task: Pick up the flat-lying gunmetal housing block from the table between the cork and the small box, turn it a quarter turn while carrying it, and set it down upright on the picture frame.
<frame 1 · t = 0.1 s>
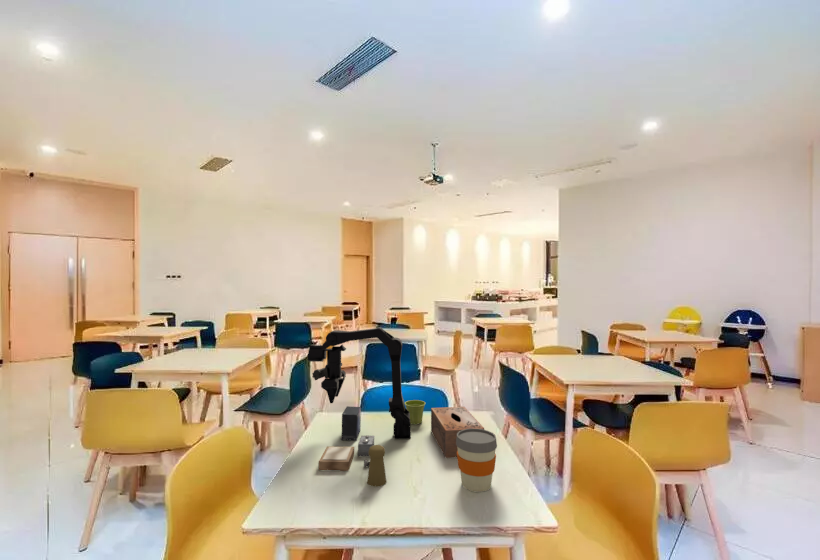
hand: (334, 399, 159), 15 cm above the table, tool pointing down, fingers open, 9 cm apart
small box: (351, 436, 159), on the table
picture frame: (337, 462, 135), on the table
plant pot: (415, 422, 175), on the table
housing: (366, 452, 144), on the table
tissue box cover: (455, 443, 152), on the table
reusable coffee cup: (476, 484, 120), on the table
loose bolt: (374, 465, 133), on the table
cork: (376, 482, 122), on the table
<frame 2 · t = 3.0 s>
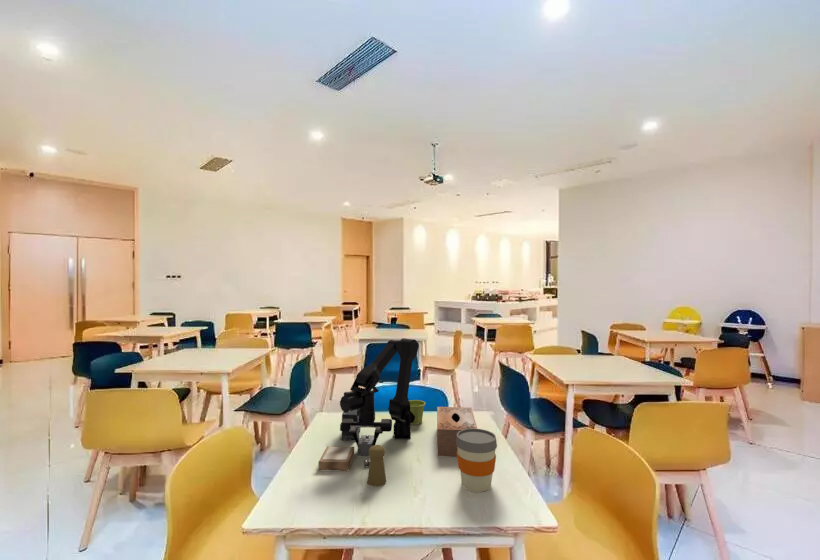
hand: (366, 448, 144), 1 cm above the table, tool pointing down, fingers closed on housing, 5 cm apart
housing: (366, 451, 144), on the table, touching gripper
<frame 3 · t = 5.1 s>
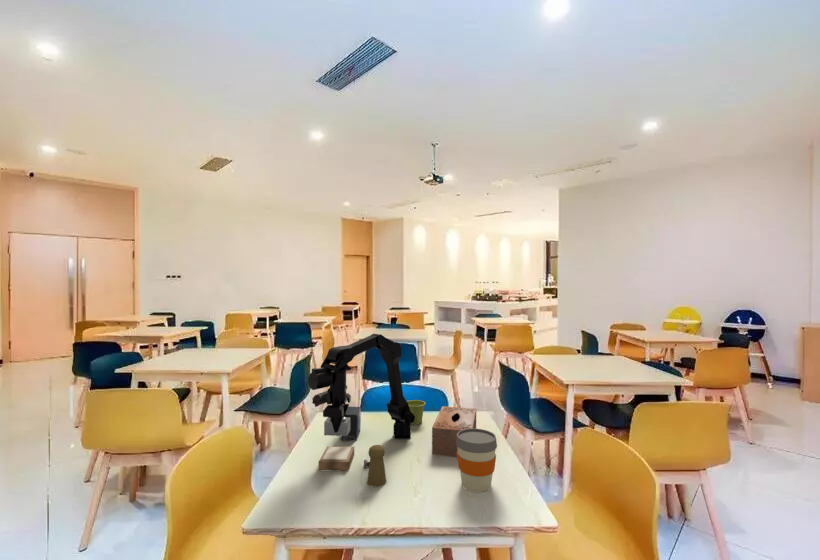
hand: (337, 429, 135), 11 cm above the table, tool pointing down, fingers closed on housing, 5 cm apart
housing: (337, 432, 135), point 10 cm above the table, touching gripper
when the fingers open (6 cm above the table, at t = 6.8 s): housing drops 1 cm, resting on picture frame.
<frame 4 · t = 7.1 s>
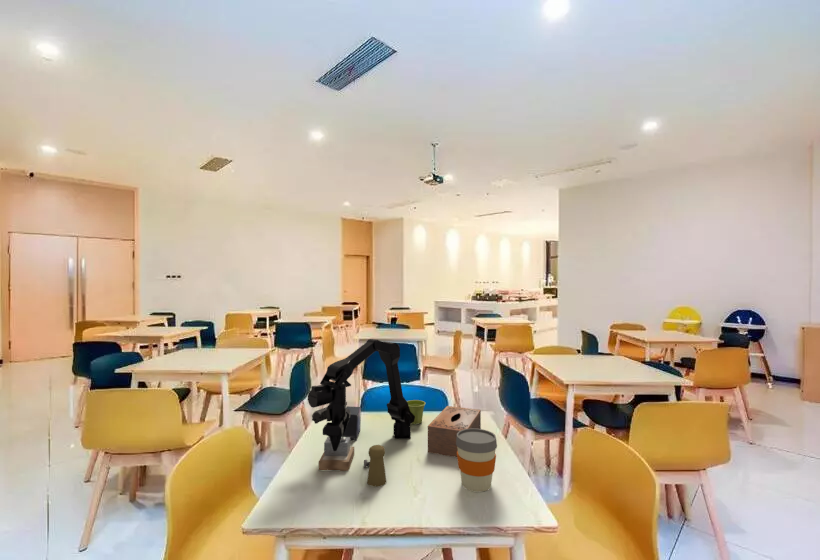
hand: (337, 445, 135), 6 cm above the table, tool pointing down, fingers open, 8 cm apart
housing: (337, 452, 135), point 3 cm above the table, touching picture frame
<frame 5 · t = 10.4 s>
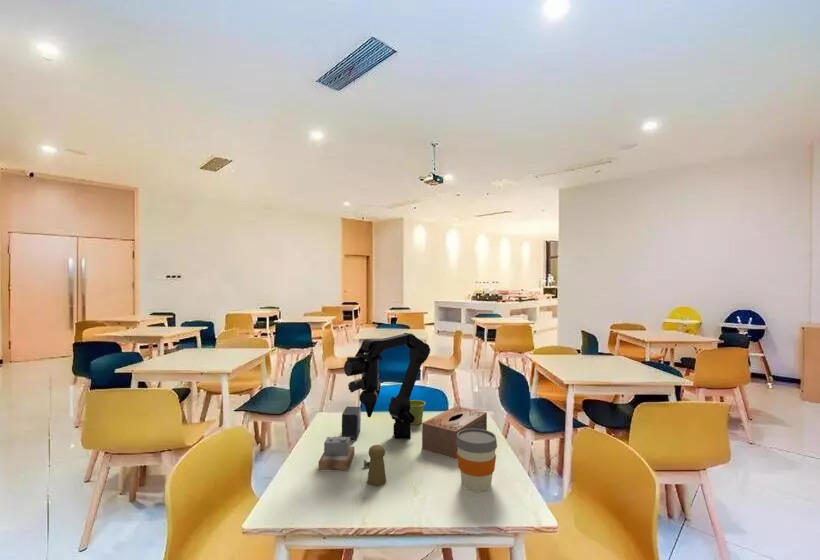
hand: (370, 413, 149), 13 cm above the table, tool pointing down, fingers open, 9 cm apart
at the end: housing inside the target area on the picture frame (0.1 cm from its centre), point 3.2 cm above the picture frame's base; housing tilted 0°; the gripper is holding nothing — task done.
